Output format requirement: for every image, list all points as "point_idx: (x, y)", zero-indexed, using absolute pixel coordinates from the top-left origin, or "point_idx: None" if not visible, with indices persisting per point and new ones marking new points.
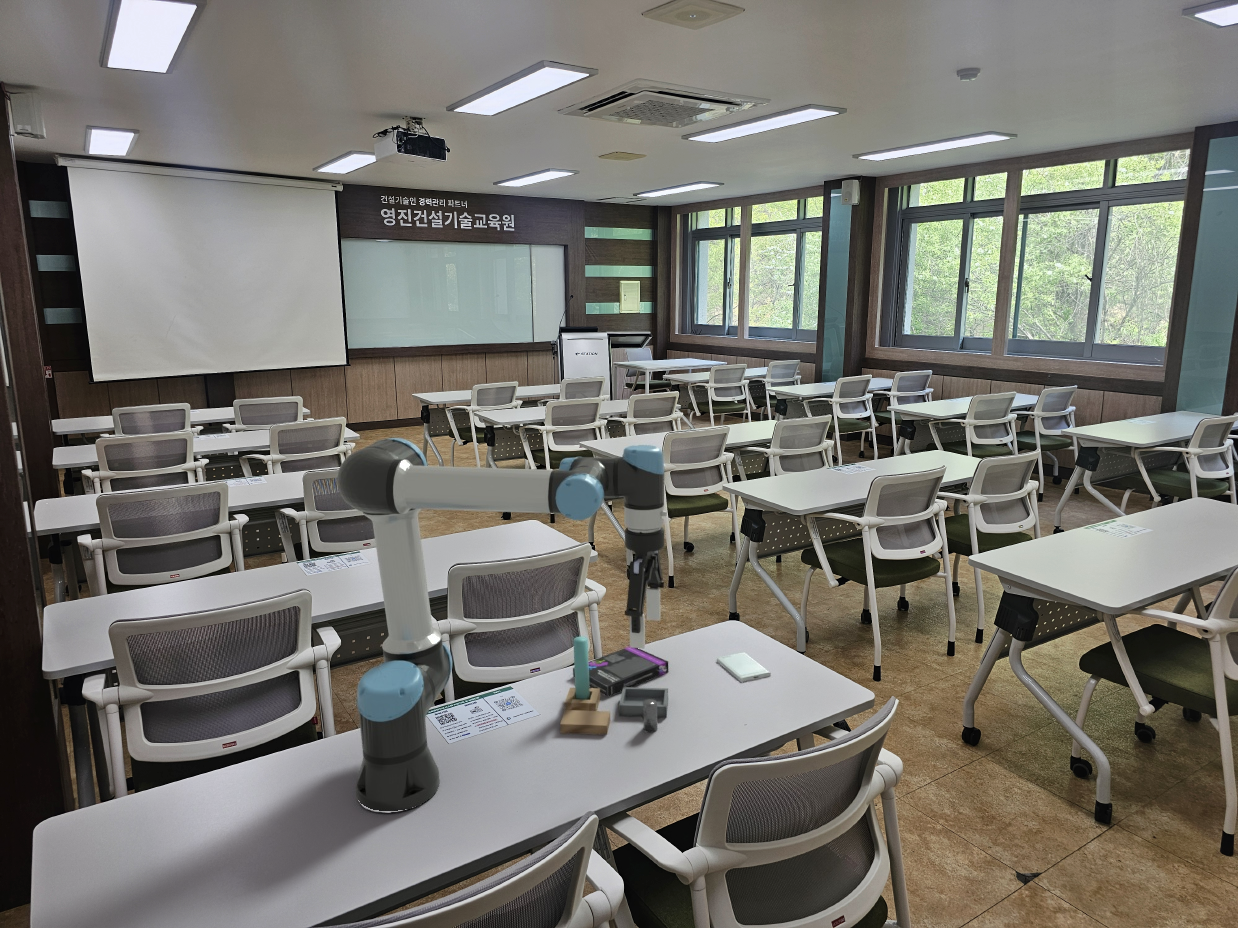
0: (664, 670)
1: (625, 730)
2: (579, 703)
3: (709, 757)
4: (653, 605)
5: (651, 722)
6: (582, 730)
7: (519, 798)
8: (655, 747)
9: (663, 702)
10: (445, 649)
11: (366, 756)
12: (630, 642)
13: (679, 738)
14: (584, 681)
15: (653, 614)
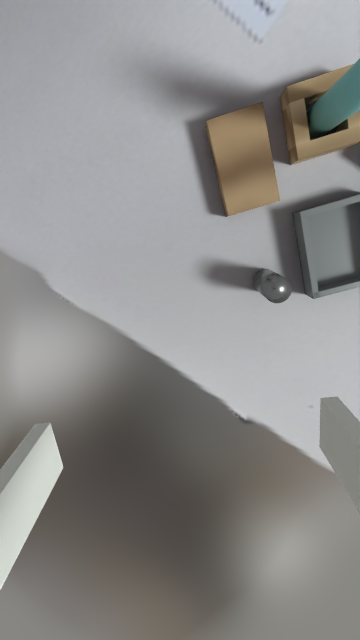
0: None
1: (247, 242)
2: (291, 123)
3: (210, 382)
4: (354, 479)
5: (257, 289)
6: (216, 170)
7: (7, 157)
8: (212, 306)
9: (350, 276)
10: None
11: None
12: (24, 439)
13: (247, 331)
14: (332, 111)
15: (331, 442)
